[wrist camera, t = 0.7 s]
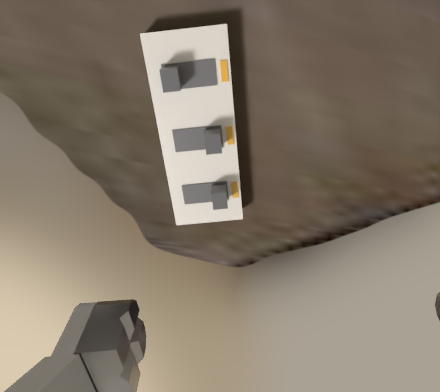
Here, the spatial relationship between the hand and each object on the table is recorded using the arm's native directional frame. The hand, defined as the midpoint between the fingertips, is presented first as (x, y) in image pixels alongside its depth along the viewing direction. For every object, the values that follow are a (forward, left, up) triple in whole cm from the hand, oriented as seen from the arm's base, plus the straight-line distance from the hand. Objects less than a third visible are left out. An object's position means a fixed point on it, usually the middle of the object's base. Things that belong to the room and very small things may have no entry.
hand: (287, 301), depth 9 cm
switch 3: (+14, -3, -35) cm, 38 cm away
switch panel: (+6, -5, -39) cm, 40 cm away
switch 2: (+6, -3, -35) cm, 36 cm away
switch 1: (-2, -7, -35) cm, 36 cm away
